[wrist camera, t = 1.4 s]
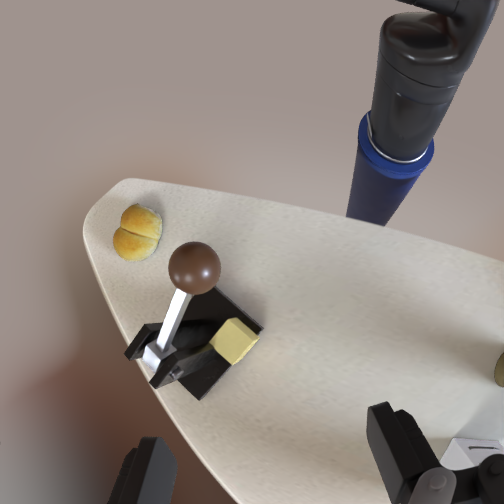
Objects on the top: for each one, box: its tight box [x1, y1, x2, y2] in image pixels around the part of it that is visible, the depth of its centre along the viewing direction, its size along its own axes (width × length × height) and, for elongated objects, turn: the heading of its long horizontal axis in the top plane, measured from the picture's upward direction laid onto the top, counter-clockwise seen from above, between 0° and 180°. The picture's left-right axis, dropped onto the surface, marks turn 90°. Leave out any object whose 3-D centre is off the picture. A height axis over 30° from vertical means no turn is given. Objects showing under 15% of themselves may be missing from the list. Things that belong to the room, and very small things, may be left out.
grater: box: [439, 438, 504, 470], centre depth 16 cm, size 10×10×20 cm
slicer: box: [124, 286, 264, 400], centre depth 32 cm, size 14×10×14 cm
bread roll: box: [113, 203, 162, 262], centre depth 43 cm, size 8×9×4 cm
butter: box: [209, 318, 260, 365], centre depth 35 cm, size 4×4×4 cm
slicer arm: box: [142, 242, 221, 374], centre depth 25 cm, size 15×4×4 cm, turn 141°
